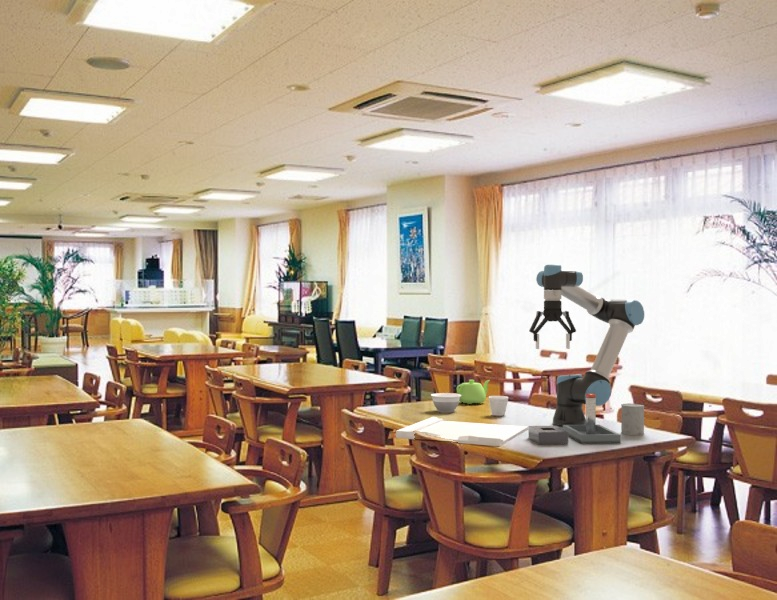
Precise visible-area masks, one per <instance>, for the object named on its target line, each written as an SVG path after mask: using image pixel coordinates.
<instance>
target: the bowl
mask: <svg viewBox="0 0 777 600" xmlns="http://www.w3.org/2000/svg"><path fill="white" fill-rule="evenodd" d="M430 396H431V398H432V402H433V405H434V407H435V409H436V410H437V412H438V413H445V414H447V413H448V414H449V413H454V412H455V410H456V409H457V407H458V406H459V404H460V401H459V398H460V397H461V395H460V394H458V393H453V392H451V393H450V392H449V393H448V392H445V393H444V392H441V393H440V392H438V393H437V392H436V393H431V394H430Z"/></svg>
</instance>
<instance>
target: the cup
mask: <svg viewBox="0 0 777 600" xmlns="http://www.w3.org/2000/svg"><path fill="white" fill-rule="evenodd" d="M488 401H489V407H490V411H491V415H492V416H493V417H504V416H506V410H507V408H508V407H507V406H508V401H509V396H507V395H506V396H504V395H489V396H488Z"/></svg>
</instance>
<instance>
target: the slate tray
mask: <svg viewBox="0 0 777 600" xmlns="http://www.w3.org/2000/svg"><path fill="white" fill-rule="evenodd" d="M562 429H564V430H565V431H567V432H568V438H571V439H573V440H574V441H577V442H578V443H579V444H581V445H590V444H591V445H593V444H594V445H595V444H596V445H597V444H599V445H600V444H601V445H604V444H608V445H609V444H621V443H622V442H621V440H622V439H621V436H622V435H621V434H620V433H618V432H616V431H613V430H611V429H609V428H608V427H605V426H603V425H601V424H596V434H586V425H563V426H562Z"/></svg>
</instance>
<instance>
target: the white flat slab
mask: <svg viewBox="0 0 777 600" xmlns="http://www.w3.org/2000/svg"><path fill="white" fill-rule="evenodd" d="M415 430H416V431H420V433H425V434H428V435H431V436H436V437H441V438H445V439H449V440H453V441H456V442H458V443H457V444H467V445H468V444H469V445H480V446H489V447H490V446H491V447H492V446H493V447H501V446H503V445H504V444H506V443H508V442H510V441H512V440H513V439H515V438H516V437H518V436H519V435H522V434H523V433H525V432H526V431H529V426H526V425H525V426H524V425H523V426H522V425H510V424H495V423H483V422H482V423H481V422H480V423H479V422H467V421H452V420H444V418H440V417H436V416H431V417H428V418H426V419H423V420H421V421H418V422H416V423H413V424H410V425H408V426H404V427H401V428H400V429H397V430H396V431H395V435H396V436H395V438H396V439H405V440H415V439H414V438H415V436H414V434H415V433H416V432H413V431H415Z"/></svg>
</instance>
